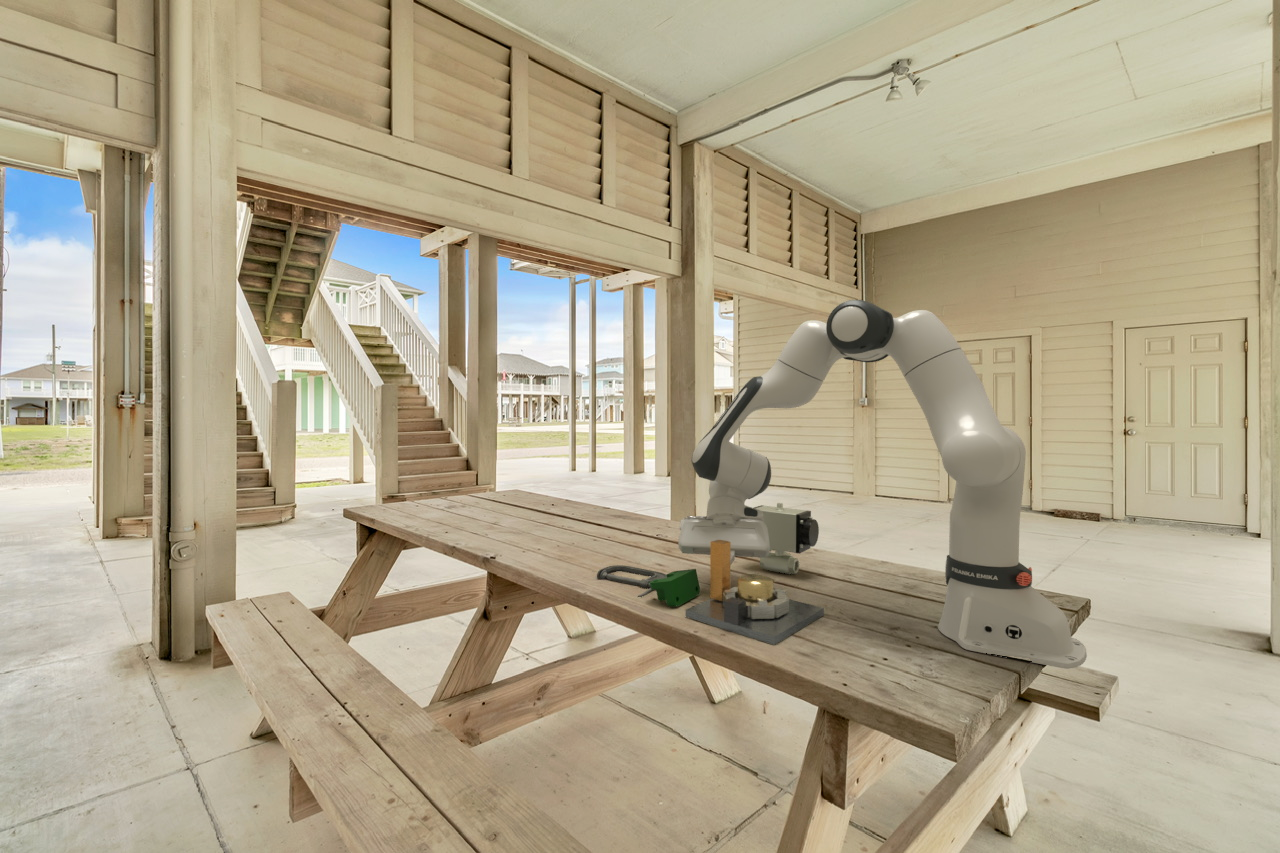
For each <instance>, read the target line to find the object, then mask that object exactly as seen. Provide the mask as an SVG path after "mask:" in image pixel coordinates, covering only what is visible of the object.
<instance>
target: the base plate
mask: <svg viewBox="0 0 1280 853" xmlns="http://www.w3.org/2000/svg"><path fill="white" fill-rule="evenodd" d="M737 587H738V598H735V597H731V598H729V599H727V600H725V601H724V606H723V601H719V600H716V599H712V598H710V599H708V600H706V601H703V602H702V603H701V602H700V603H698V604H696V605H694V606H692V607H689V608H687V609H685V612H684V613H685V614H684V615H685V616H686V617H689V618H688V619H690V618H692V619H691V620H693V619H695V620H694V621H696V620H698V621H697V622H699V621H701V622H700V623H702V622H704V623H703V624H705V623H707V624H706V625H709V624H710V626H712V625H713V627H715V628H719V629H720V630H721V629H722V630H725V631H729V632H731V633H735V634H737V635H741V636H743V637H747V638H751V639H753V640H757V641H759V642H763V643H767V644H769V645H773V646H776V645H778V643H780V642H782V641H783V640H786V639H787V638H789V637H790V636H792V635H794V634H795V633H797V632H798V631H800V630H802V629H804V628H805V627H807V626H809V625H810V624H812V623H813V622H815V621H817V620H818V619H820V618H822V617H823V616H825V607H822V606H817V605H814V604H811V603H806V602H801V601H798V600H794V599H790V598H789V611H788V612H787V613H786V614H784V615H782V616H780V617H778V618H776V617H774V619H751V617H750V618H746V601H747V602H750V603H757V598H765V599H766V600H767V603H769V602H772V601H773V589H774V580H773V578H771V576H770V577H769V576H766V575H763V574H753V573H751V574H744V575H743V574H742V575H740V576H738V577H737ZM686 617H685V618H686Z"/></svg>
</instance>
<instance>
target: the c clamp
mask: <svg viewBox="0 0 1280 853" xmlns="http://www.w3.org/2000/svg"><path fill="white" fill-rule="evenodd" d="M616 571H622V572H624V573H628V572H629V574H634V573H635V575H639V574H640V575H641V576H645V577H647V578H646V579H645V578H642V579H635V578H632V577H631V578H630V577H626V576H622V575H621V576H620V575H616V574H612V573H617V572H616ZM666 574H667V573H663V572H660V571H655V570H650V569H645V568H641V567H635V566H630V565H623V564H622V565H621V564H619V565H618V564H617V565H609V566H605V567H603V568H601V569H598V572H597V573H596V579H597V580H609V581H614V582H618V583H622V582H623V584H626V585H627V584H628V585H633V586H636V585H637V587H640V588H641V587H642V589H645V588H646V590H645V591H643V592H642V593H640V594H638V595H637V598H638V597H641V598H642V596H643V597H644V596H646V595H648V594H649V593H651V591H654V590H655V589H651V587H650V582H651V581H653V580H655V579H664V578H667V576H666ZM640 575H639V576H640ZM649 576H651V577H649ZM647 588H648V589H647ZM647 593H648V594H647Z"/></svg>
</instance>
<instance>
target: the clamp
mask: <svg viewBox="0 0 1280 853" xmlns="http://www.w3.org/2000/svg"><path fill="white" fill-rule="evenodd" d="M665 574H666V576H667V578H664V579H655V580H653V581H651V582H650V587H651V589H654V590H655V589H656V590H655V591H656V595H657V601H658V600H660V601H659V602H665V604H666V605H667V607H669V606H670V607H669V608H671V607H679V606H681V605H683V604H686V603H687V602H688V601H689V602H690V601H691V600H692V599H694V598H696V597H697V596H699V595H700V593H701V587H700V583H699V582H700V581H699V577H698V573H697V569H696V568H692V569H683V570H675V571H671V572H669V573H665Z"/></svg>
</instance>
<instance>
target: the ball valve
mask: <svg viewBox="0 0 1280 853" xmlns="http://www.w3.org/2000/svg"><path fill="white" fill-rule="evenodd" d="M753 508H755V509H758V510H761V511H762V512H763V515H764V523H765V524H766V526H767V529H768V535H769V546H770V553H769V555H768V556H767V557H766V558H759V566H760V568H761V569H765V571H768V570H769V572H774V573H779V572H780V573H781V574H784V573H785V575H790V574H791V573H792V574H791V575H794V574H797V573H798V572H799V568H800V560H799V558H798V557H796V558H795V557H794V556H793V555H791V553H793V554H802V553H804V552H806V551H808V550H810V549H811V548H813V547H815V546H816V544H817V542H818V539H819V533H820V532H819V530H820V528H819V527H820V526H819V523H818V521H817V519H815V518H813V517H812V511H811V510H807V509H797V508H787V507H784V504H783V502H777V503H776V506H770V505H769V506H768V505H764V504H763V505H762V504H761V505H758V506H757V505H756V506H755V507H753ZM772 551H774V552H772ZM780 573H779V574H780Z"/></svg>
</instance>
